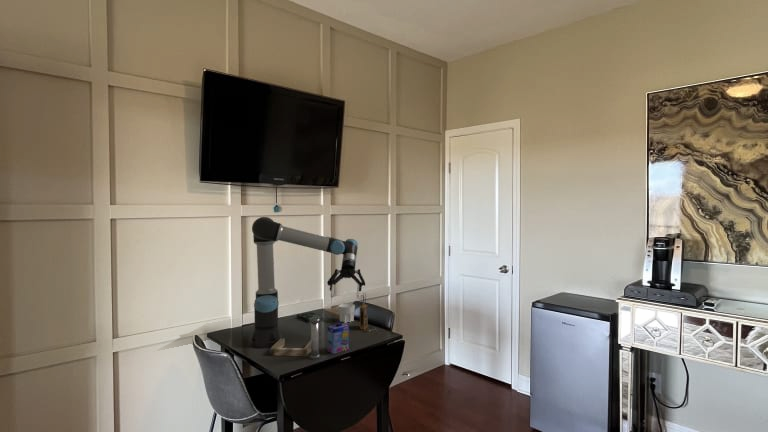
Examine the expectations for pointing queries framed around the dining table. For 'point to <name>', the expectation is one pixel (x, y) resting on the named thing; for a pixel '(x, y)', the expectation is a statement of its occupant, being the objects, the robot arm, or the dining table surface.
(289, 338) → the dining table surface
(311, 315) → the disk drive
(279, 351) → the notched board
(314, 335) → the bobbin post
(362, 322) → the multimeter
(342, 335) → the ink cartridge box
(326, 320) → the dining table surface
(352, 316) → the cup
